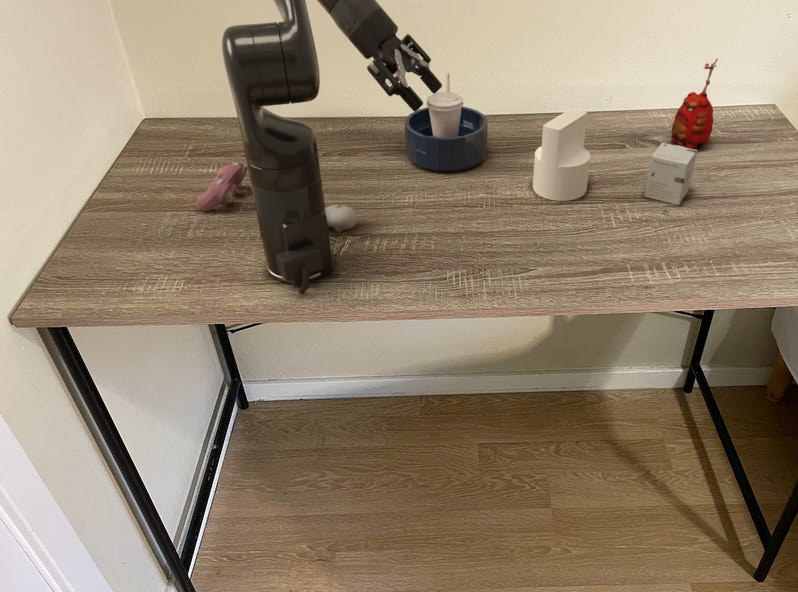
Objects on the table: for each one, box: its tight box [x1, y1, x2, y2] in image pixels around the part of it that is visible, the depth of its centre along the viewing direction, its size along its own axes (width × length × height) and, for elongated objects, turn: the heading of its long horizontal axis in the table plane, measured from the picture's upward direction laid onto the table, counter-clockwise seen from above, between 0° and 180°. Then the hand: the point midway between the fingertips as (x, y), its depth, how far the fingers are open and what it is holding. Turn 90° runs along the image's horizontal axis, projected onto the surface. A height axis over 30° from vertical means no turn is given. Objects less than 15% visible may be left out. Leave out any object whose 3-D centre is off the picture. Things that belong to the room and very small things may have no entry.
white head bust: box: [325, 204, 358, 233], centre depth 117 cm, size 4×8×5 cm
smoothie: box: [426, 72, 464, 137], centre depth 132 cm, size 6×6×14 cm
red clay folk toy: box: [670, 57, 719, 150], centre depth 136 cm, size 8×7×15 cm
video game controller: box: [195, 160, 248, 212], centre depth 123 cm, size 10×5×7 cm, turn 168°
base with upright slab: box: [532, 107, 591, 202], centre depth 124 cm, size 9×9×12 cm
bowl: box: [404, 105, 488, 173], centre depth 135 cm, size 14×14×6 cm
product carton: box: [643, 142, 698, 206], centre depth 124 cm, size 6×6×7 cm
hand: (429, 98), depth 132 cm, fingers open, 8 cm apart
